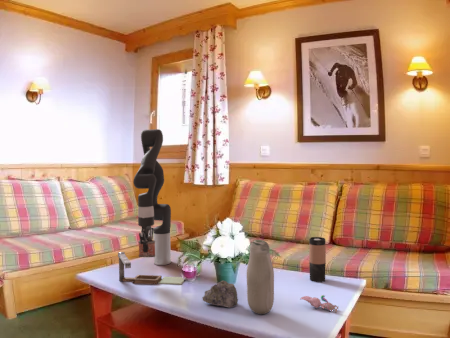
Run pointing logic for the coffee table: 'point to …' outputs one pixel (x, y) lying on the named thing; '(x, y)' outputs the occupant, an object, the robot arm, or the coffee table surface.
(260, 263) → the brown clay vase
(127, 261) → the grey bar
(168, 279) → the pad
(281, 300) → the coffee table surface
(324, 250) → the travel mug
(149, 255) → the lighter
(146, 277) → the dock
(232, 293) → the mineral rock
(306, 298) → the pink elongated figure
